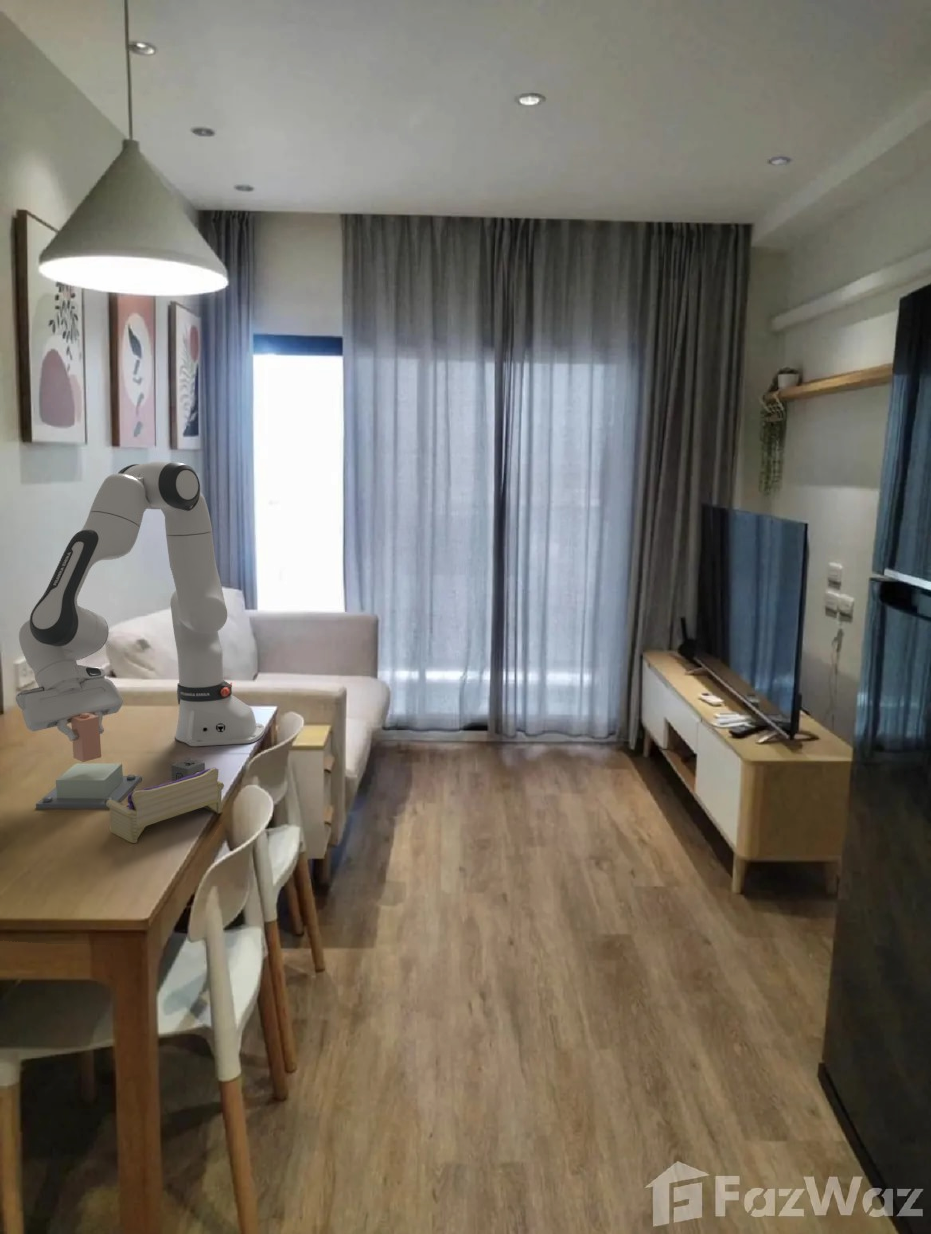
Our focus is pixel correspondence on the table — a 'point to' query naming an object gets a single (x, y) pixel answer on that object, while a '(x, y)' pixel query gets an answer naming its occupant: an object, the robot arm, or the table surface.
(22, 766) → the table surface
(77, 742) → the pillar brick
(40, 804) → the tower base
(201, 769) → the dice cube
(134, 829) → the toy sofa
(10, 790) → the table surface
